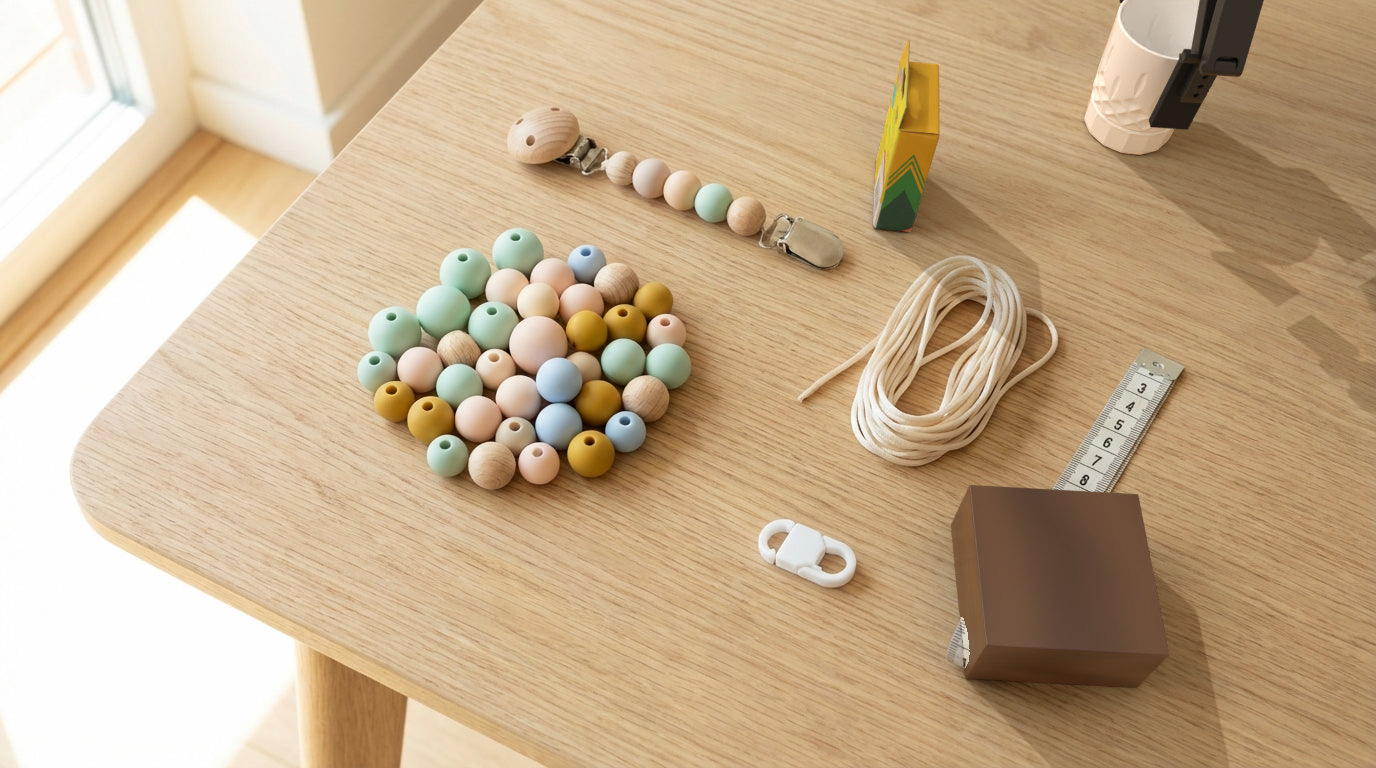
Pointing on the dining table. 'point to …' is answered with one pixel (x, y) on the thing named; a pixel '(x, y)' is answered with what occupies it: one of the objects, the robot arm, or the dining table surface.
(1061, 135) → the dining table surface
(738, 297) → the dining table surface
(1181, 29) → the white cup
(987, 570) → the walnut riser
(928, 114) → the crayon box
